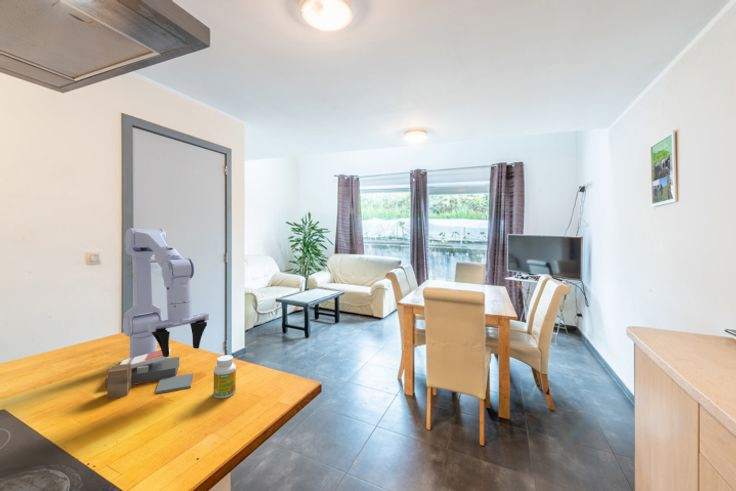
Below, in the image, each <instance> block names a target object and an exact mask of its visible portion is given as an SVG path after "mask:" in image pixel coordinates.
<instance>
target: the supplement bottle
mask: <svg viewBox="0 0 736 491" xmlns="http://www.w3.org/2000/svg"><path fill="white" fill-rule="evenodd" d="M236 374H237V366H236V364H235V363H234V356H233V355H231V354H225V355H222V356H219V357H217V358H216V366H215V367H214V368H213V397H215V398H217V399H225V398H229V397H231V396H233V395H234V394H235V393H236V389H237V387H236V382H237V381H236V380H237V379H236V378H237V377H236Z"/></svg>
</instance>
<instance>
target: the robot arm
mask: <svg viewBox="0 0 736 491" xmlns="http://www.w3.org/2000/svg"><path fill="white" fill-rule="evenodd" d="M167 241H168V240H167V233H166V231H165V230H164V229H163V228H159V229H157V228H156V229H155V228H132V227H129V228H128V229H127V230H126V232H125V235H124V246H125V247H124V250H125V254H127V255H130V256H131V259H132V270H133V276H132V277H133V295H134V296H133V298H134V299H133V301H134V302H133V304H134V305H133V306H132V307H130V308H129V309H127V310H126V311H125V312H124V314H123V321H122V331H123V334H124V335H125V336H126V337H129V359H130V358H133V357H137V356H141V355H145V354H149V353H151V352H155V351H158V345H159V348H160V350H161V351H162V354H163V357H168V358H170V355H169V348H170V345H169V342H170V335H171V334H170V333H171V332H170V331H168V329H170V328H176V327H180V326H185V325H189V324H190V330H191V336H192V347H193V349H195V350H196V349H199V348H200V344H201V339H202V336H203V334H204V332H205V329H206V327H207V325H208V321H209V313H206V312H205V313H199V314H193V307H192V286H191V285H192V284H191V283H192V282H191V279H192V278H193V277H194V275H195V265H194V262H193V260H192V259H191V258H189V257H188V258H186V257H183V256H182V255H181V254H180V253H179V252H178V251H177V250H176V248H175V247H174V246H173V245H168V244H167ZM153 256H154V260H155V261H156V262H157V264H158V266H159V267H160V268H161V276H162V279H163V285H164V288H166V307H167V308H166V311H167V319H164V317H163V314H162V309H161V307H159V306H158V305H155V304H154V303H153V285H152V283H153V282H152V257H153Z"/></svg>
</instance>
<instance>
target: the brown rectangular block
mask: <svg viewBox="0 0 736 491" xmlns="http://www.w3.org/2000/svg"><path fill="white" fill-rule="evenodd" d="M107 377H108V388H107V399H114V398H121V397H126V396H128V395H129V393H130V391H131V389H132V384H131V363H129V364H122V365H120V364H116V365H112V366H111V367H110V368H109V370H108V371H107Z"/></svg>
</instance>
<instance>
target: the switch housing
mask: <svg viewBox="0 0 736 491" xmlns="http://www.w3.org/2000/svg"><path fill="white" fill-rule="evenodd" d="M179 368H180V356H176V357H168V359H164V360H161V361H157V362H154V363H150V364H147V365H143V366H139V367H136V368H132V369H131V385H136V384H137V385H138V384H142V383H148V382H154V381H156V382H157V381H160V380H161V378H167V377H173V376H177V375H178V371H179ZM105 380H106V381H105V387H106V388H105V389H108V376H107V377H106V379H105Z"/></svg>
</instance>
